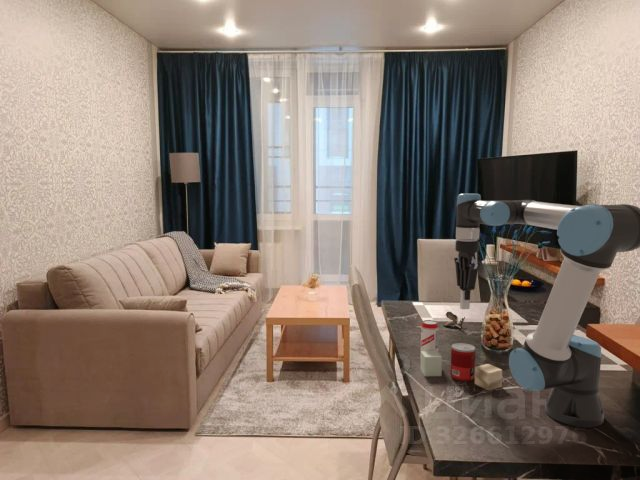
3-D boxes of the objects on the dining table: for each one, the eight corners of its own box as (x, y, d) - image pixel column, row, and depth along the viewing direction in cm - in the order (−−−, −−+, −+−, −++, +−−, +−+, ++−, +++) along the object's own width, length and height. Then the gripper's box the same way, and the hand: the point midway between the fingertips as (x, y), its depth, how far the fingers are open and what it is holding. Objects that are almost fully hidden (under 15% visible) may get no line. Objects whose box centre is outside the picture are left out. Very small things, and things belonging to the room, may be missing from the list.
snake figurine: (464, 322, 230) (445, 316, 233) (466, 312, 225) (446, 306, 229) (460, 334, 225) (440, 328, 228) (461, 324, 220) (442, 318, 224)
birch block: (501, 387, 161) (502, 369, 160) (488, 390, 158) (489, 373, 157) (487, 380, 166) (488, 363, 165) (474, 384, 163) (475, 366, 163)
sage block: (441, 376, 170) (442, 356, 169) (424, 376, 170) (424, 357, 169) (436, 369, 176) (437, 350, 175) (420, 369, 176) (420, 351, 175)
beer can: (434, 368, 177) (435, 325, 175) (417, 364, 180) (418, 322, 178) (439, 362, 182) (441, 321, 180) (423, 359, 185) (424, 318, 183)
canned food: (475, 382, 164) (476, 351, 163) (451, 380, 166) (452, 349, 165) (473, 373, 172) (474, 343, 170) (449, 372, 173) (450, 342, 172)
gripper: (488, 241, 157) (485, 313, 160) (467, 237, 170) (465, 303, 173) (466, 242, 156) (464, 314, 159) (447, 237, 168) (445, 304, 171)
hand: (464, 308), depth 166 cm, fingers closed
